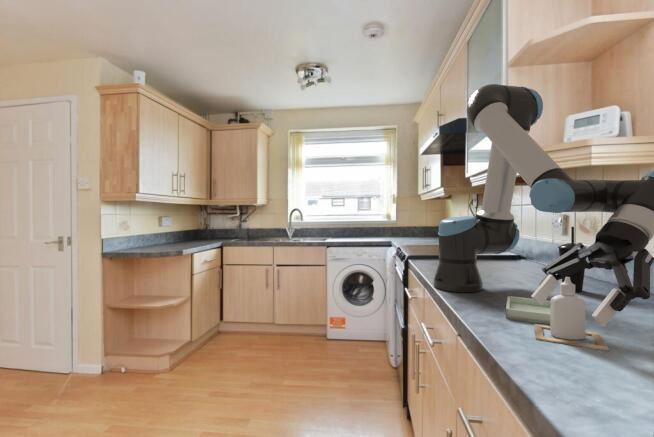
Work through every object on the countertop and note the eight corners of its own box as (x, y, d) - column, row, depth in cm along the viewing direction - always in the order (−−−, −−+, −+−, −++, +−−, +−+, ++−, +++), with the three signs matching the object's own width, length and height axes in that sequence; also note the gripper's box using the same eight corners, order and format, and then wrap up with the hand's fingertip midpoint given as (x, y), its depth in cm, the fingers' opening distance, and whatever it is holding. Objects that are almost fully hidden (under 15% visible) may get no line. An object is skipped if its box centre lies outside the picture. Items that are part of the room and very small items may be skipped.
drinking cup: (593, 294, 96) (593, 227, 95) (562, 292, 98) (563, 227, 98) (581, 288, 103) (582, 226, 103) (553, 286, 105) (554, 226, 105)
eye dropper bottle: (551, 330, 68) (551, 274, 67) (585, 336, 64) (585, 277, 64) (549, 337, 64) (549, 277, 64) (585, 343, 61) (585, 281, 61)
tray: (505, 318, 75) (505, 308, 75) (507, 304, 87) (507, 296, 87) (558, 325, 70) (558, 315, 70) (552, 309, 81) (552, 300, 81)
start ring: (535, 339, 63) (535, 337, 63) (534, 325, 71) (534, 323, 71) (608, 351, 58) (608, 349, 58) (598, 334, 65) (598, 332, 65)
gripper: (720, 251, 54) (647, 347, 52) (580, 239, 78) (526, 304, 76) (695, 220, 53) (619, 317, 51) (561, 218, 78) (506, 283, 75)
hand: (563, 309), depth 63 cm, fingers open, 13 cm apart
